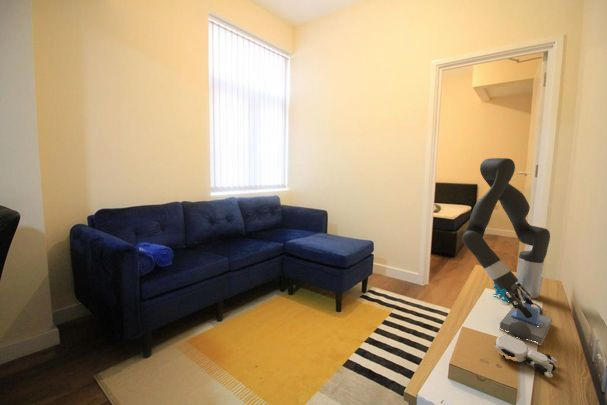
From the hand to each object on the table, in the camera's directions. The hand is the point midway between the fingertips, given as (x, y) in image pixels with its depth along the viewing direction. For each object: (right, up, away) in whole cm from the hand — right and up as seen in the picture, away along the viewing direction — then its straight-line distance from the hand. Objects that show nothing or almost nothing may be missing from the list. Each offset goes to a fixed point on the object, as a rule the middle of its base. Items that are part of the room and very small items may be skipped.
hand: (532, 313), depth 105 cm
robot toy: (-17, -8, -17) cm, 25 cm away
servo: (-1, -5, +2) cm, 6 cm away
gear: (+6, -3, +25) cm, 26 cm away
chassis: (-1, -6, +2) cm, 6 cm away
